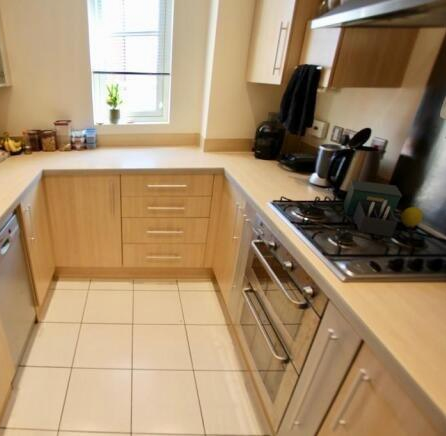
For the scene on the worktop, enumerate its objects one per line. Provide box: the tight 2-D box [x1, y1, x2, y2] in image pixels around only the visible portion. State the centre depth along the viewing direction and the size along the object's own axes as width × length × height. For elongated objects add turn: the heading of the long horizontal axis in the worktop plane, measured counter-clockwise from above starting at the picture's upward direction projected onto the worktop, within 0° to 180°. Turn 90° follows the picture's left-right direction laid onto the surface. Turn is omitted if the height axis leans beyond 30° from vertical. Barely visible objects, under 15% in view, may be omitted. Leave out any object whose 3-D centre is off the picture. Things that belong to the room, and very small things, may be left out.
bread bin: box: [343, 179, 403, 216], centre depth 121 cm, size 14×11×11 cm
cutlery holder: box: [352, 200, 398, 238], centre depth 111 cm, size 9×14×10 cm, turn 152°
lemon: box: [400, 206, 424, 228], centre depth 112 cm, size 6×6×8 cm
